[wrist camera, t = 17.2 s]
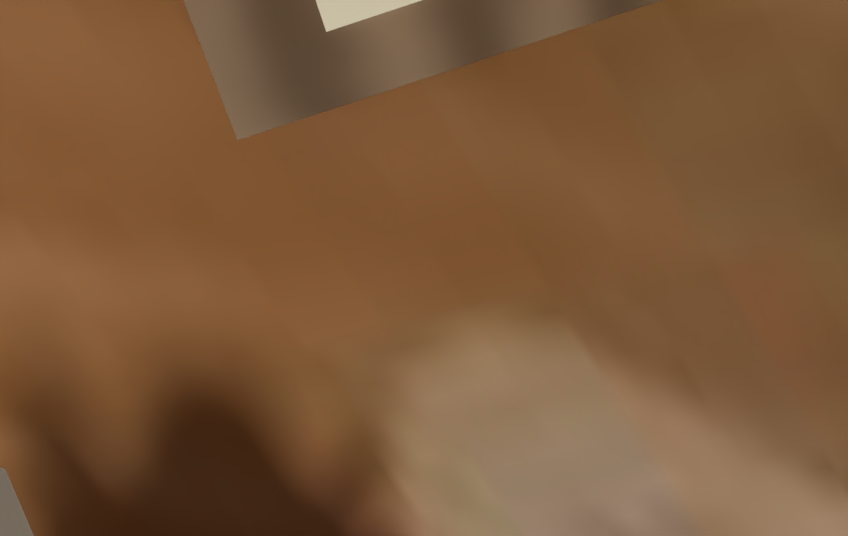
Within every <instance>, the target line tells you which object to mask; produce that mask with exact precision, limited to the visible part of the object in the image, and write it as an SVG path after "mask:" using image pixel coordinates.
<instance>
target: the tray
mask: <svg viewBox="0 0 848 536" xmlns="http://www.w3.org/2000/svg"><path fill="white" fill-rule="evenodd" d="M657 1H660V0H184V3H185V6H186V8H187V11H188V13H189V16H190V19H191V21H192V24H193V26H194V29H195V31H196V34H197V37H198V39H199V42H200V44H201V47H202V50H203V52H204V55H205V57H206V60H207V63H208V65H209V68H210V70H211V73H212V76H213V78H214V81H215V83H216V86H217V88H218V91H219V94H220V96H221V99H222V101H223V104H224V107H225V109H226V112H227V114H228V117H229V120H230V122H231V125H232V127H233V130H234V133H235V135H236V138H237V140H240V139H243V138H246V137H249V136H252V135H255V134H258V133H261V132H264V131H267V130H270V129H273V128H276V127H279V126H282V125H285V124H288V123H291V122H294V121H297V120H300V119H303V118H306V117H309V116H312V115H315V114H318V113H321V112H324V111H327V110H330V109H333V108H337V107H340V106H343V105H346V104H349V103H352V102H355V101H358V100H361V99H364V98H367V97H370V96H373V95H376V94H379V93H382V92H385V91H388V90H391V89H394V88H397V87H400V86H403V85H406V84H409V83H412V82H415V81H418V80H421V79H424V78H427V77H430V76H433V75H436V74H439V73H442V72H445V71H448V70H451V69H454V68H457V67H461V66H464V65H467V64H470V63H473V62H476V61H479V60H482V59H485V58H488V57H491V56H494V55H497V54H500V53H503V52H506V51H509V50H512V49H515V48H518V47H521V46H524V45H527V44H530V43H533V42H536V41H539V40H542V39H545V38H548V37H551V36H554V35H557V34H560V33H563V32H566V31H569V30H572V29H575V28H578V27H581V26H584V25H588V24H591V23H594V22H597V21H600V20H603V19H606V18H609V17H612V16H615V15H618V14H621V13H624V12H627V11H630V10H633V9H636V8H639V7H642V6H645V5H648V4H651V3H654V2H657Z"/></svg>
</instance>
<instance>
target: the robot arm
mask: <svg viewBox="0 0 848 536" xmlns="http://www.w3.org/2000/svg"><path fill="white" fill-rule="evenodd" d="M0 536H34V535H33V533H32V530H31V528H30V526H29V523H28V521H27V519H26V516H25V514H24V512H23V509H22V507H21V505H20V502H19V500H18V498H17V495H16V493H15V491H14V488H13V486H12V484H11V481H10V479H9V477H8V474H7V472H6V470H5V468H0Z"/></svg>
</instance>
